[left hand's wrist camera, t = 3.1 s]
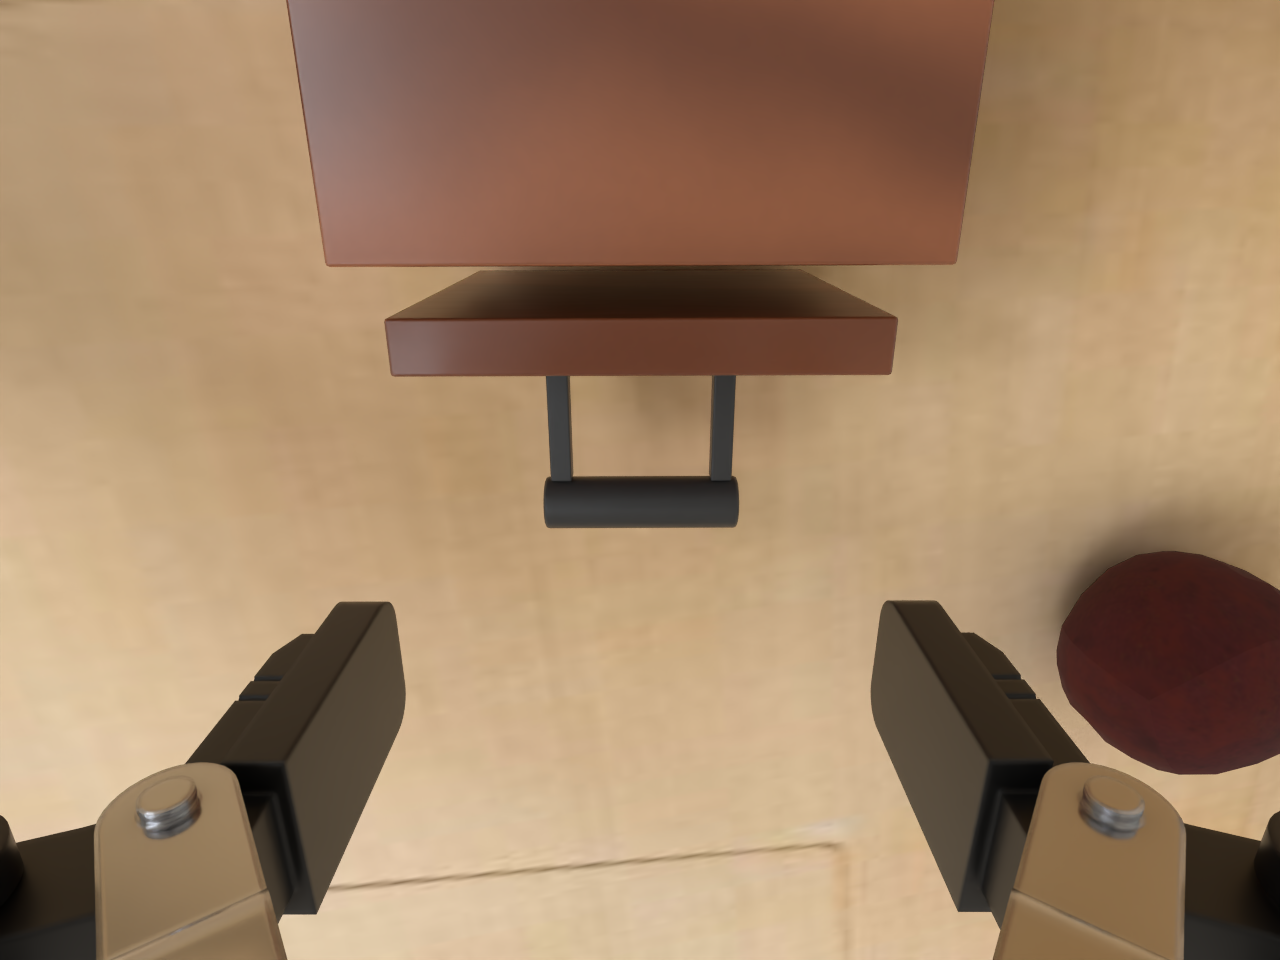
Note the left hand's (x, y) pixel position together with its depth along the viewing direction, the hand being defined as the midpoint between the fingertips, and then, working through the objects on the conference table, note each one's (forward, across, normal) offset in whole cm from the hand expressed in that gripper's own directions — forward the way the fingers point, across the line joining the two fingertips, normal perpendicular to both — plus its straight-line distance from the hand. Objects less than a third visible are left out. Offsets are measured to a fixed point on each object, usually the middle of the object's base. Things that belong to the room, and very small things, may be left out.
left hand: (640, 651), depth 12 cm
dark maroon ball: (+16, +19, -9) cm, 26 cm away
